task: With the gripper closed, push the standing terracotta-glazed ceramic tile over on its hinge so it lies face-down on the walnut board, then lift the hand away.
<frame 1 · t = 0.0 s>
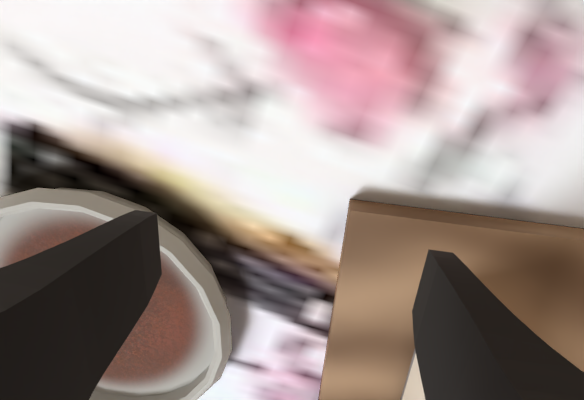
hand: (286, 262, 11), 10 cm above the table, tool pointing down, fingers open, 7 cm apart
board: (465, 352, 25), on the table
frying pan: (29, 255, 27), on the table
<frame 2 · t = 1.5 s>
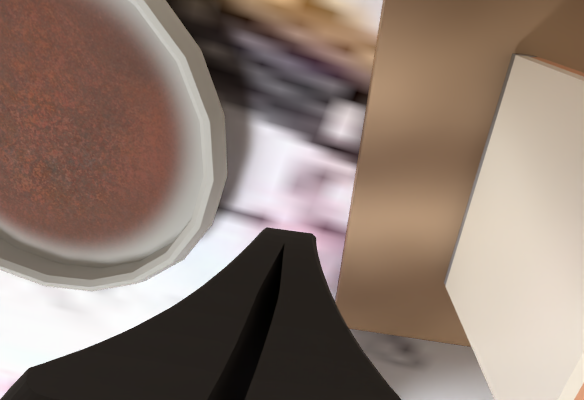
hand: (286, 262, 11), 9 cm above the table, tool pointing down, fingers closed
board: (544, 177, 19), on the table
tile: (527, 237, 14), point 6 cm above the table, hinge at 95.0°
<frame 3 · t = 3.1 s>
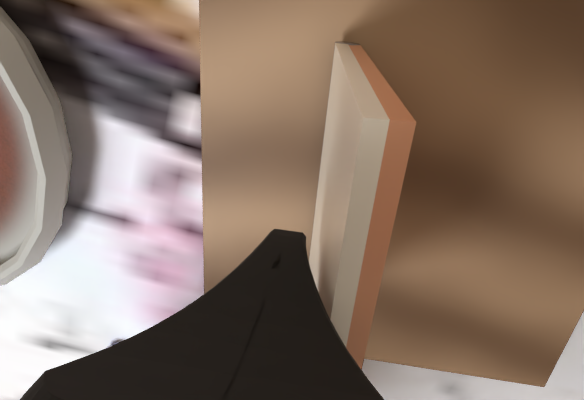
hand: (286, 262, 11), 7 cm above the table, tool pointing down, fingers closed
board: (405, 176, 17), on the table
tile: (333, 242, 13), point 6 cm above the table, hinge at 95.3°, touching gripper
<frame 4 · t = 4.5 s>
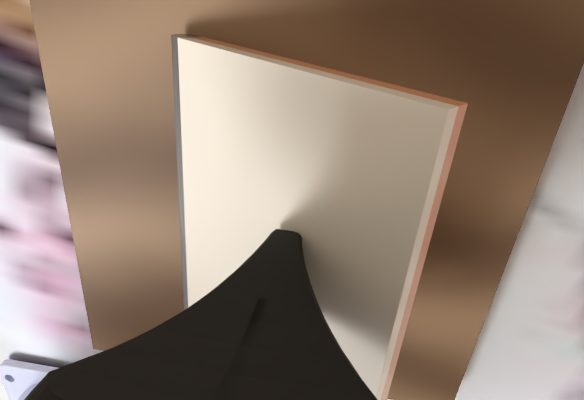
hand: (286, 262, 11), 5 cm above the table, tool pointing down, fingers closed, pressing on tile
board: (285, 182, 16), on the table
tile: (270, 240, 12), point 4 cm above the table, hinge at 144.7°, touching gripper
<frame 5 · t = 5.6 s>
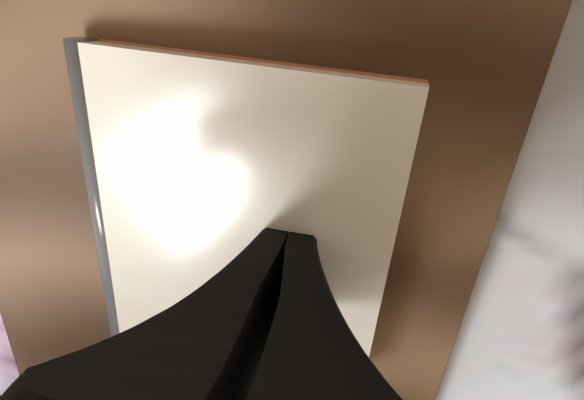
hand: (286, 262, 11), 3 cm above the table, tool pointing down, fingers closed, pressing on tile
board: (221, 204, 14), on the table
tile: (230, 244, 12), point 2 cm above the table, hinge at 173.4°, touching gripper
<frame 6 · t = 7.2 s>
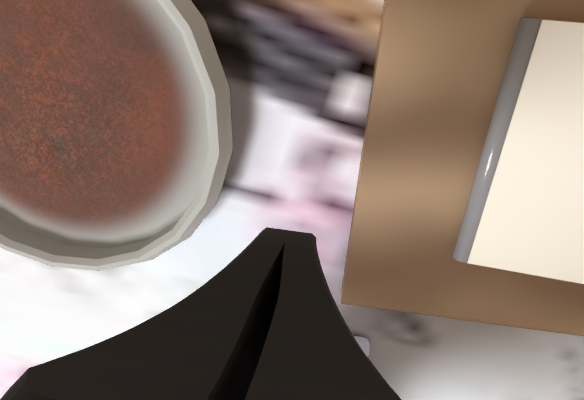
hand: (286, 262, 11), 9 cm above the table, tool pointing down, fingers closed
board: (553, 147, 18), on the table
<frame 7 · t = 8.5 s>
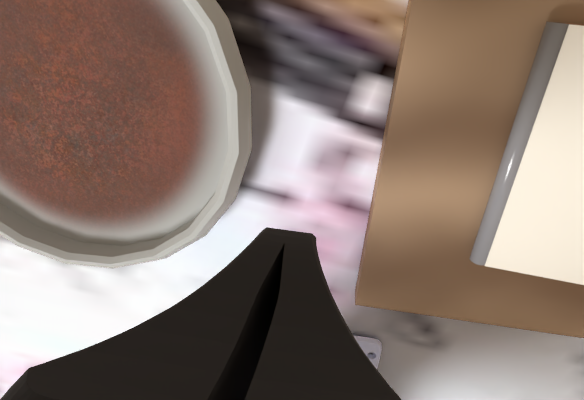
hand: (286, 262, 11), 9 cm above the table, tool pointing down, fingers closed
board: (572, 151, 18), on the table
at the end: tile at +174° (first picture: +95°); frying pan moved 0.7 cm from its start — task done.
